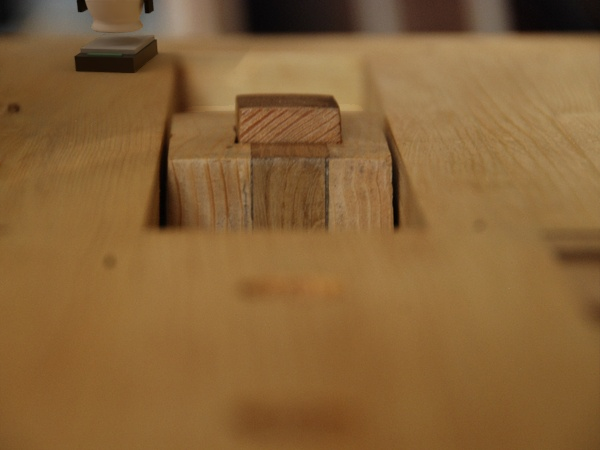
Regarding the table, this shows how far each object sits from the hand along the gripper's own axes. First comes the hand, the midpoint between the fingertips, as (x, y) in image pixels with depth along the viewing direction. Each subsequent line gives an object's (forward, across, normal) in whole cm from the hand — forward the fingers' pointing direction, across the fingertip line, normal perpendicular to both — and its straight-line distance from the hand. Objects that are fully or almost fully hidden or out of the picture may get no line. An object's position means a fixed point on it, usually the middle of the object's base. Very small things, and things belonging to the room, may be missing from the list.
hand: (116, 11), depth 134 cm
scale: (+8, 0, -1) cm, 8 cm away
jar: (+3, 0, 0) cm, 3 cm away
